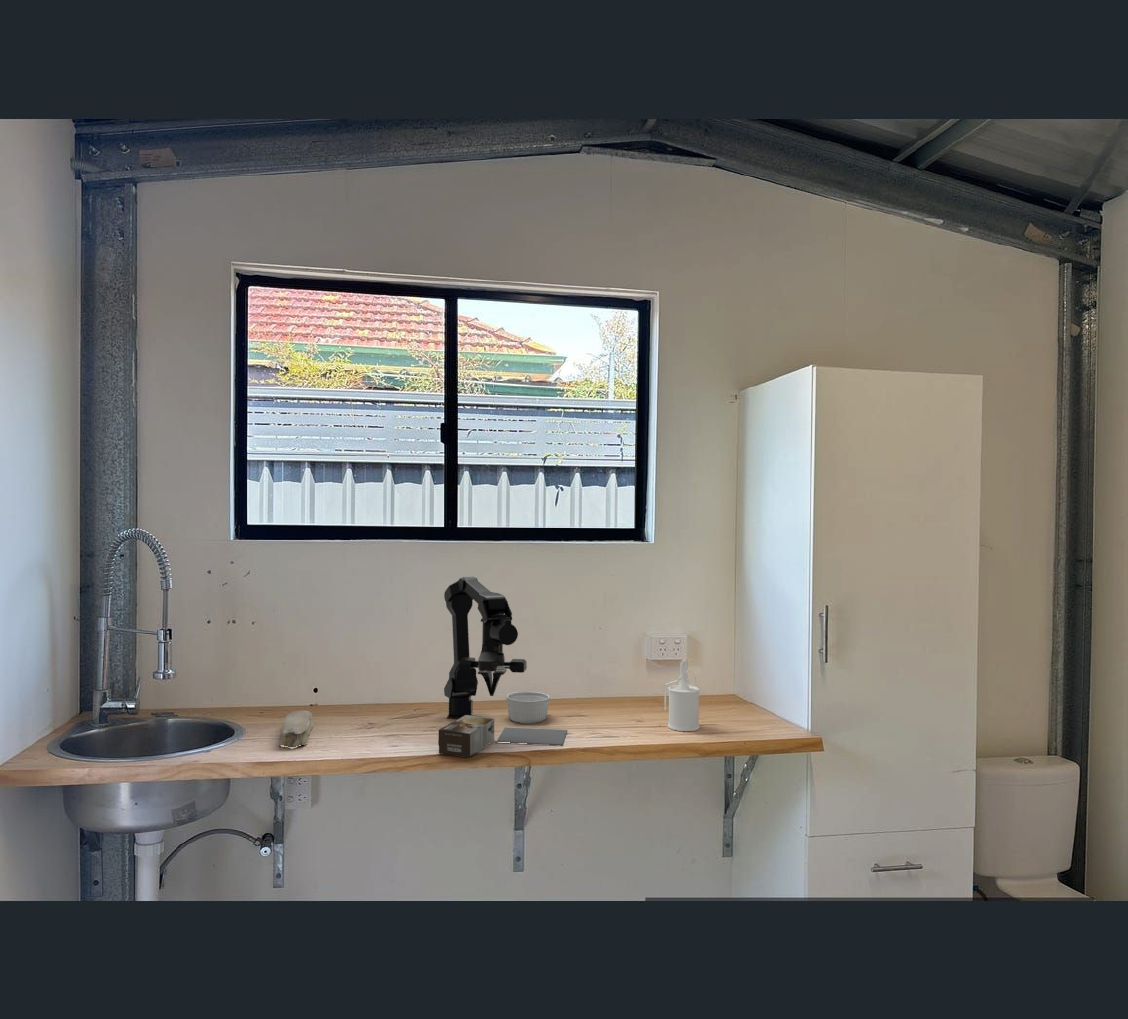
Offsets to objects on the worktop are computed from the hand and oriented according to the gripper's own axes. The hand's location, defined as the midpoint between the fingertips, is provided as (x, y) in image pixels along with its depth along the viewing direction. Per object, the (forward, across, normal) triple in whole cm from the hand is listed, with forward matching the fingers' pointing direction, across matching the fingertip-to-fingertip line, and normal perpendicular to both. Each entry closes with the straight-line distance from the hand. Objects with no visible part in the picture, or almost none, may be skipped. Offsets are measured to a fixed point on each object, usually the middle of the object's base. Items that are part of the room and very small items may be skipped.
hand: (491, 695), depth 217 cm
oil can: (+11, +54, +16) cm, 57 cm away
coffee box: (+8, -2, -4) cm, 9 cm away
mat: (+11, +12, 0) cm, 16 cm away
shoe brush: (+12, -53, -8) cm, 55 cm away
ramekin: (+11, +8, +19) cm, 24 cm away
